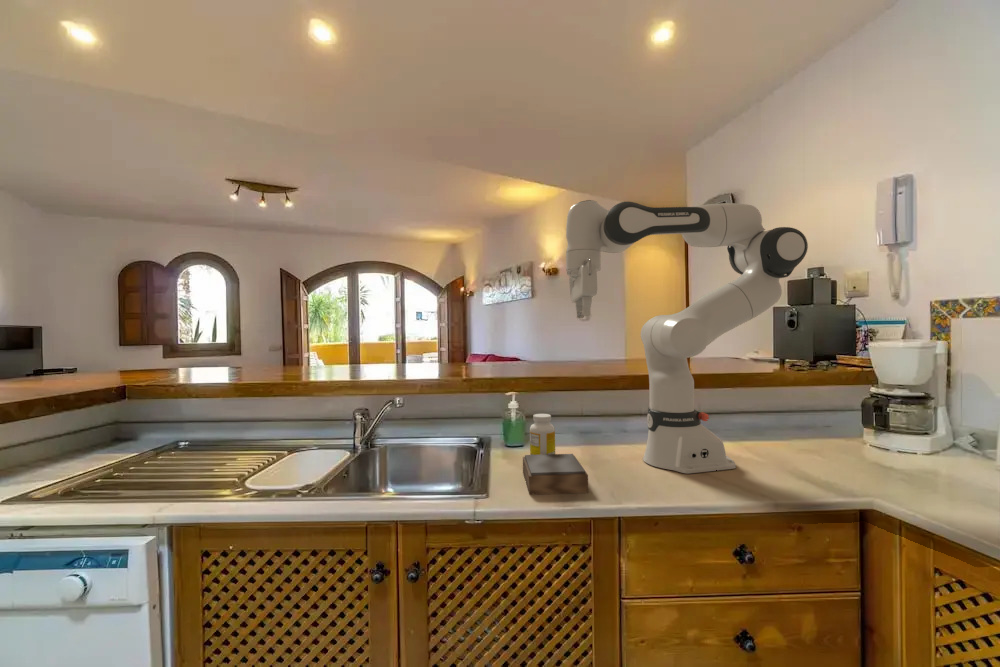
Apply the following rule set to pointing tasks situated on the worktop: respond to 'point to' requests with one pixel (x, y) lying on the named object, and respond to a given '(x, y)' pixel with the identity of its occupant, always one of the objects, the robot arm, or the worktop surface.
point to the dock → (554, 474)
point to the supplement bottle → (542, 435)
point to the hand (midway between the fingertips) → (583, 317)
